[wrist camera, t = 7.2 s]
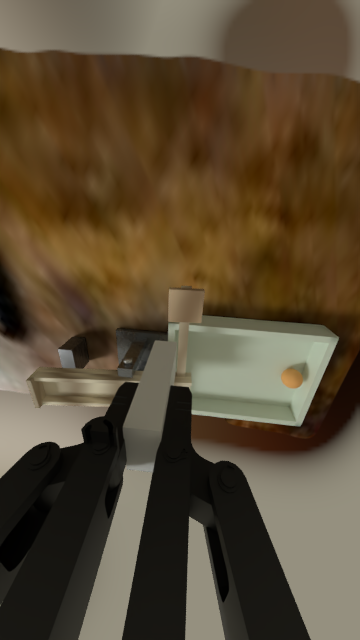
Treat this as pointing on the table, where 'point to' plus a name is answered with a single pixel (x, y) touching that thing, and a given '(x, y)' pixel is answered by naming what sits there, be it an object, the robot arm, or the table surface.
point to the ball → (291, 378)
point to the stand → (130, 350)
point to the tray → (254, 367)
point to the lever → (104, 384)
